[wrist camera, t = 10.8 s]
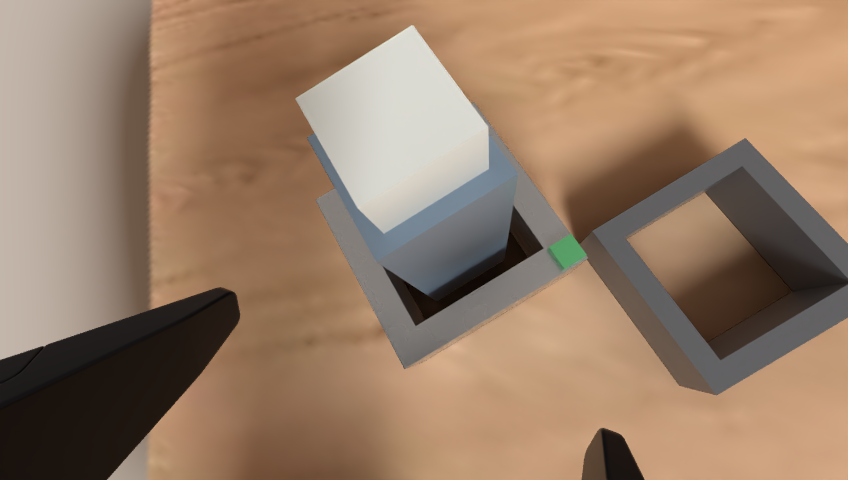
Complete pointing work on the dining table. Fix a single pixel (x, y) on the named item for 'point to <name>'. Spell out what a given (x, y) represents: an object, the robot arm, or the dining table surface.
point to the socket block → (423, 339)
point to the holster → (768, 233)
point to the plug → (413, 165)
